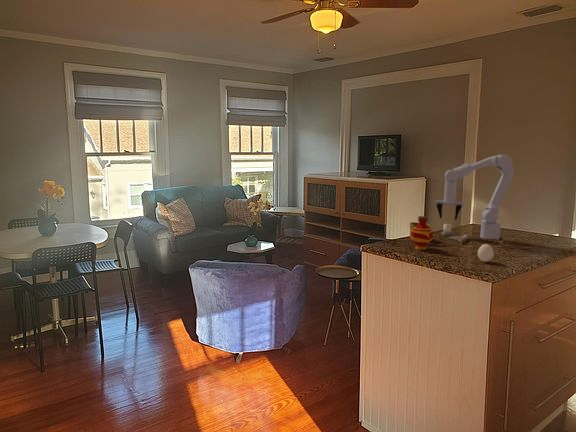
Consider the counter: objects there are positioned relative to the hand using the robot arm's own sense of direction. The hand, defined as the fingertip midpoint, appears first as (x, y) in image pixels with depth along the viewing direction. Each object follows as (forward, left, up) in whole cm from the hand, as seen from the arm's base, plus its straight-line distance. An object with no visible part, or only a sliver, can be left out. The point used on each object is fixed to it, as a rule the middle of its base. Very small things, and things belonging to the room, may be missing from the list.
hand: (448, 218), depth 237 cm
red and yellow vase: (+7, +35, -10) cm, 37 cm away
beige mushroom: (0, 0, -9) cm, 9 cm away
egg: (-22, +46, -10) cm, 52 cm away
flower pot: (+11, +20, -10) cm, 24 cm away
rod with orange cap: (-9, +12, -8) cm, 17 cm away
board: (-4, +7, -10) cm, 13 cm away
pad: (0, 0, -10) cm, 10 cm away
